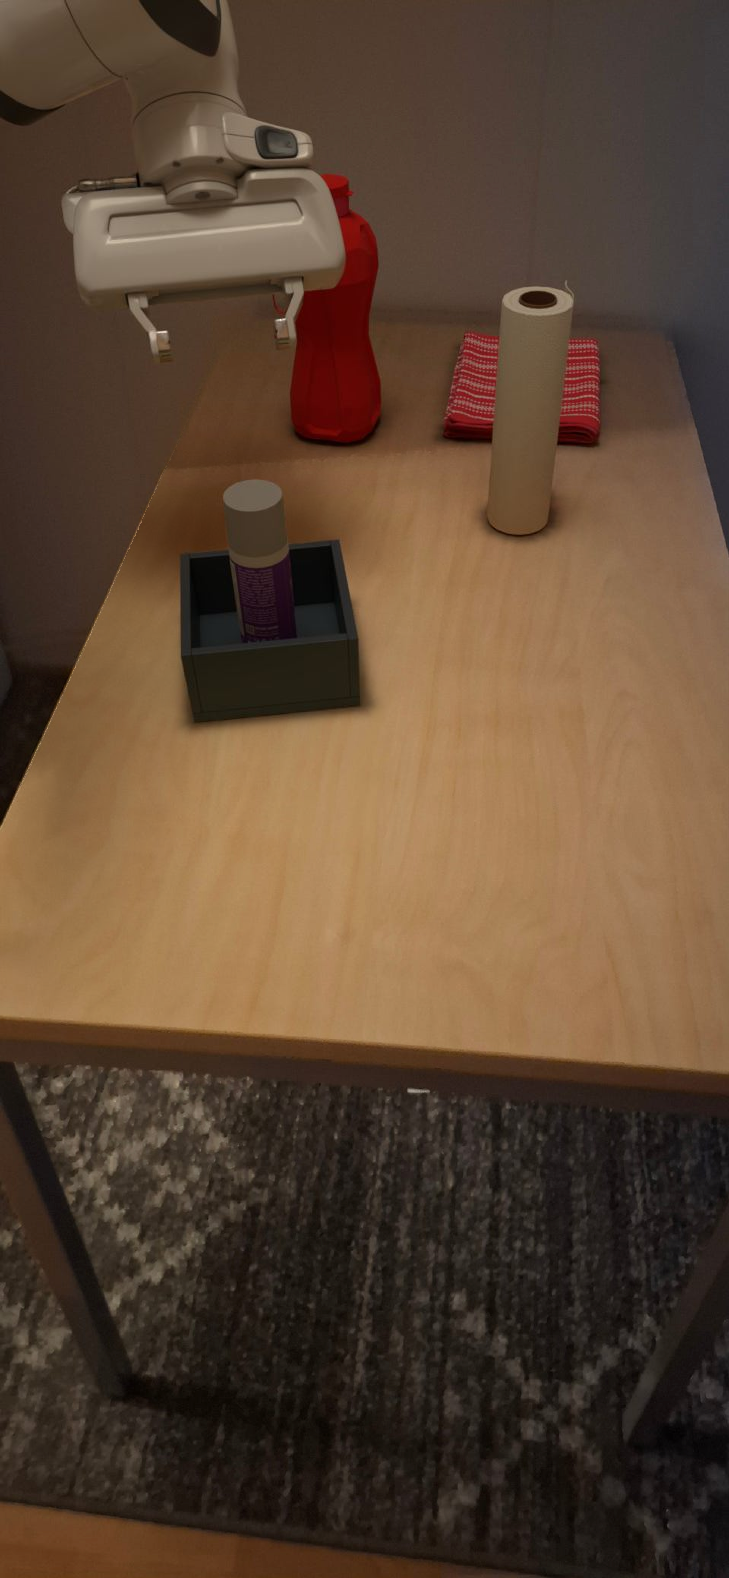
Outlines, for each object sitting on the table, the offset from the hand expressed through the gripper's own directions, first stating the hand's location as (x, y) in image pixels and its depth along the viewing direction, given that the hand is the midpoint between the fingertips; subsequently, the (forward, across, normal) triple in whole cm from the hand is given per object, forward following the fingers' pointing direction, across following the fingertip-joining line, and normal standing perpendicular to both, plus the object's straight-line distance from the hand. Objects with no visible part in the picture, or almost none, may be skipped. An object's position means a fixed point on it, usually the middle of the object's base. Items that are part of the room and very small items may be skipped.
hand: (225, 353), depth 79 cm
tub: (+23, 0, +9) cm, 24 cm away
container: (+22, 0, +9) cm, 24 cm away
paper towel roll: (+11, +28, +21) cm, 36 cm away
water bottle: (-5, +12, +37) cm, 39 cm away
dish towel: (-6, +35, +38) cm, 52 cm away
